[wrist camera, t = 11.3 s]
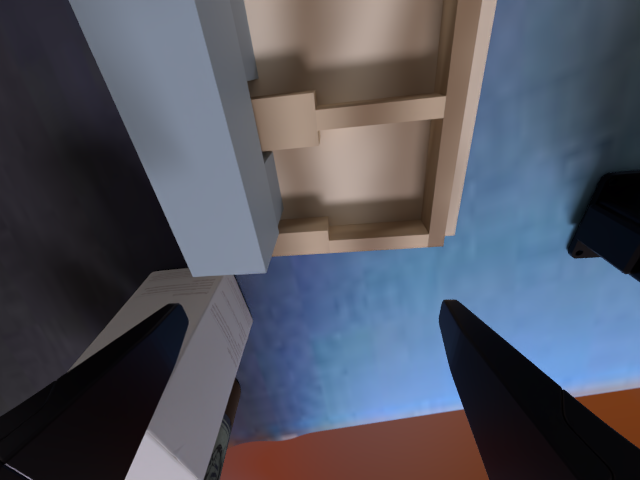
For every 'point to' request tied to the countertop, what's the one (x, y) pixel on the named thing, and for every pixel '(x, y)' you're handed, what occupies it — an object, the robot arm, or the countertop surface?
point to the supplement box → (186, 369)
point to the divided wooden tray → (367, 116)
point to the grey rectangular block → (192, 122)
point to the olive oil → (223, 435)
